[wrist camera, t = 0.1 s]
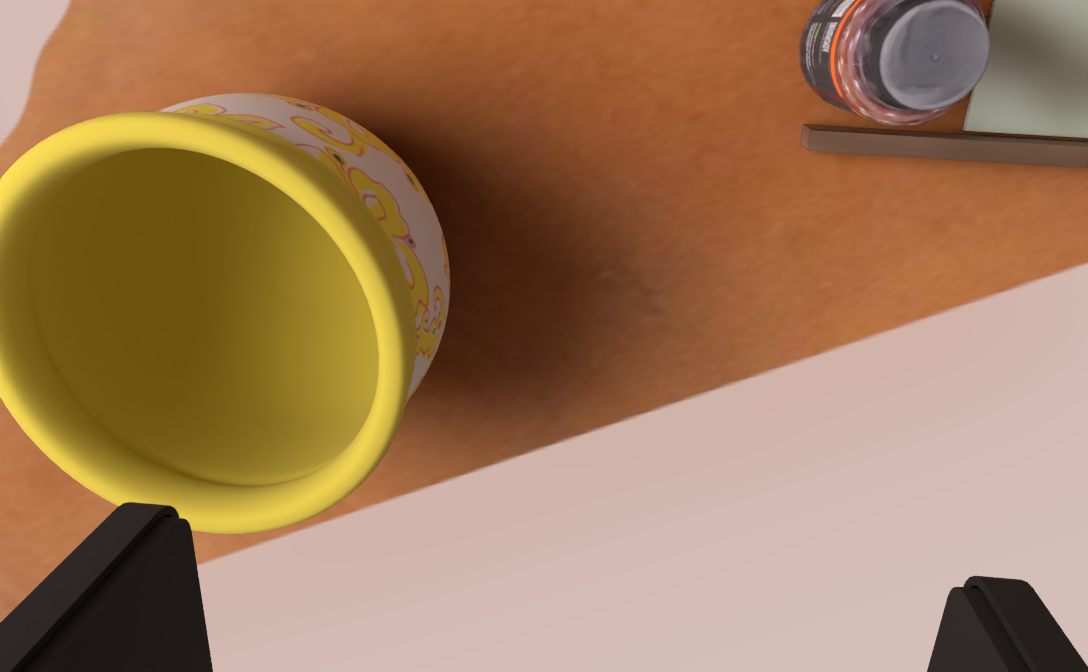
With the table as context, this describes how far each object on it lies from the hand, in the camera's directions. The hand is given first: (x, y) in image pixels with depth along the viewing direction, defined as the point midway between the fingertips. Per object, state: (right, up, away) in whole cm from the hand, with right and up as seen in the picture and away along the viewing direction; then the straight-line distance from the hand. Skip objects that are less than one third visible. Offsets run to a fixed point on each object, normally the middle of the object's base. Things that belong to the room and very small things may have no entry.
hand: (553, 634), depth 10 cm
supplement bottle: (+16, +18, +31) cm, 39 cm away
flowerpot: (-13, +9, +37) cm, 41 cm away
